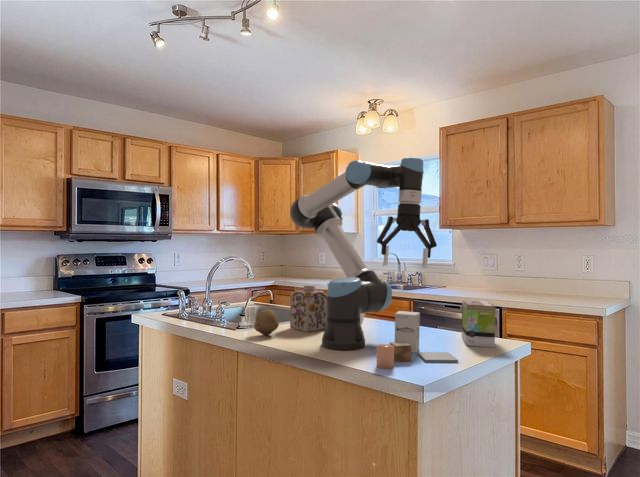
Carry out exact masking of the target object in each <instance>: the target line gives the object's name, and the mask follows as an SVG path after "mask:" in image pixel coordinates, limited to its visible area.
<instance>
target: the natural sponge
mask: <svg viewBox="0 0 640 477" xmlns="http://www.w3.org/2000/svg"><path fill="white" fill-rule="evenodd" d="M279 325H280V323H279V317H278V315H277V314H276V313H275V311H273V310H271V309H264V310H262V311H260V312H259V313H258V315H257V316H256V319H255V322H254V329H255V331H256V332H258V333H259V334H262V335H263V336H270V335H271V334H272V333H273V332H274V331H276V330H277V329H278V327H279Z"/></svg>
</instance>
